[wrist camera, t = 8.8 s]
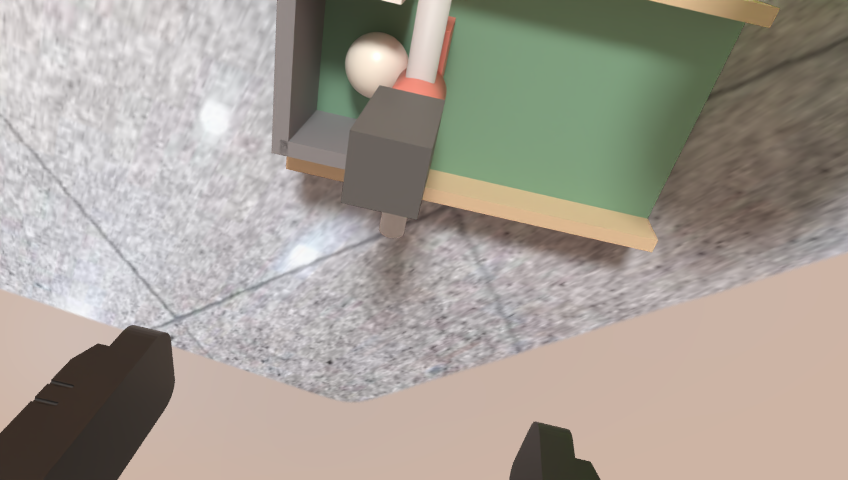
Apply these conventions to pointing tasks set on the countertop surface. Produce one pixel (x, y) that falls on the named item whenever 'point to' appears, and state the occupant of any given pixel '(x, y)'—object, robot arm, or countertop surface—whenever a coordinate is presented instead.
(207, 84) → the countertop surface
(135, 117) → the countertop surface
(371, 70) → the ball
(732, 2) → the pitch
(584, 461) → the robot arm
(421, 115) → the striker
